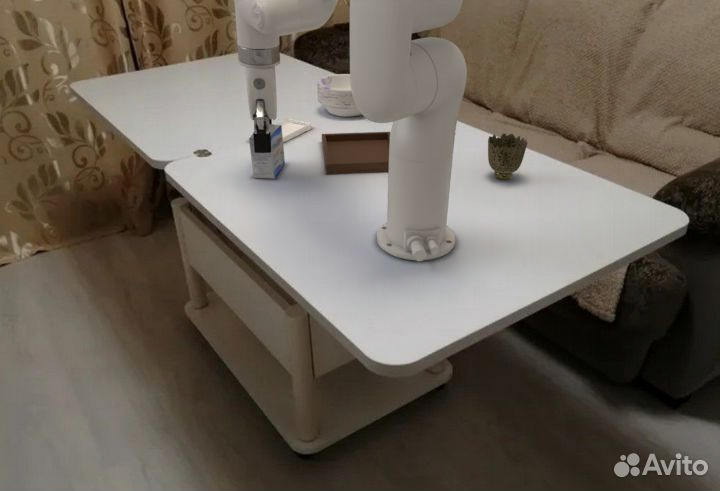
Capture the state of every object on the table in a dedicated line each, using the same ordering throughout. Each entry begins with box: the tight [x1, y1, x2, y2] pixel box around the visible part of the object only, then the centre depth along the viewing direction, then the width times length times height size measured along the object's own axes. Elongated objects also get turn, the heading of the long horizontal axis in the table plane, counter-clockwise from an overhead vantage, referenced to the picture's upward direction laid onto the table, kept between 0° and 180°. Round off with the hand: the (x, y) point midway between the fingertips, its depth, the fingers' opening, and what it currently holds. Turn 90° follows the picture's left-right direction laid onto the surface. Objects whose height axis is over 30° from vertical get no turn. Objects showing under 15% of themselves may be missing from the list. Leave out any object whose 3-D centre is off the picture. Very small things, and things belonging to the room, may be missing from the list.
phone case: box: [248, 118, 312, 144], centre depth 138 cm, size 7×1×15 cm
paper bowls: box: [316, 73, 362, 118], centre depth 152 cm, size 15×15×8 cm
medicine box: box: [248, 123, 286, 180], centre depth 119 cm, size 8×4×9 cm, turn 171°
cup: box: [487, 132, 529, 181], centre depth 116 cm, size 8×7×8 cm
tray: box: [321, 131, 391, 175], centre depth 127 cm, size 18×16×2 cm
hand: (263, 142), depth 118 cm, fingers open, 9 cm apart
